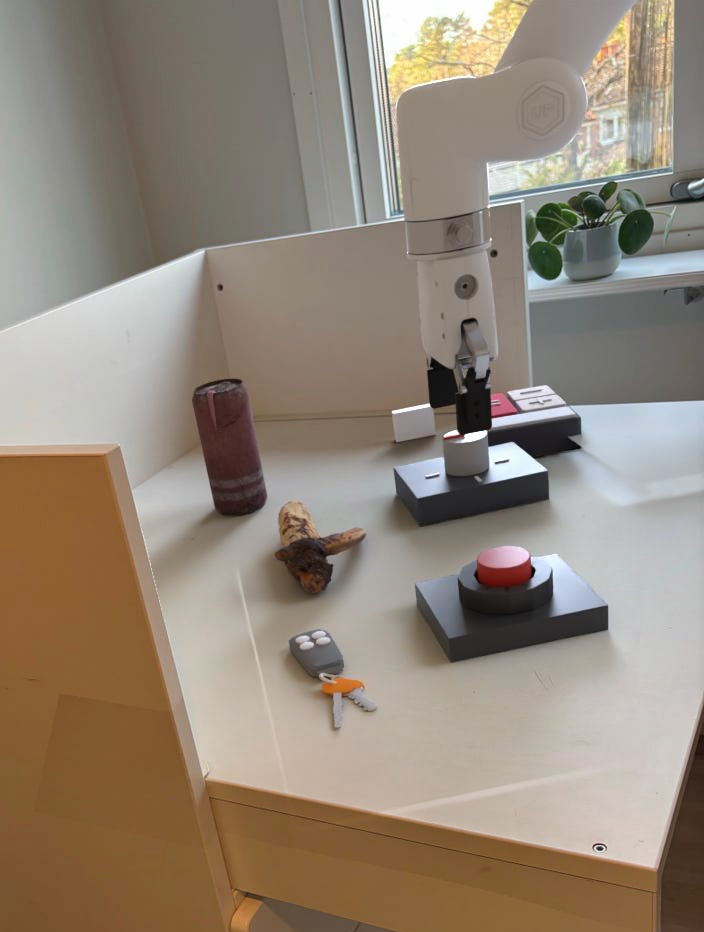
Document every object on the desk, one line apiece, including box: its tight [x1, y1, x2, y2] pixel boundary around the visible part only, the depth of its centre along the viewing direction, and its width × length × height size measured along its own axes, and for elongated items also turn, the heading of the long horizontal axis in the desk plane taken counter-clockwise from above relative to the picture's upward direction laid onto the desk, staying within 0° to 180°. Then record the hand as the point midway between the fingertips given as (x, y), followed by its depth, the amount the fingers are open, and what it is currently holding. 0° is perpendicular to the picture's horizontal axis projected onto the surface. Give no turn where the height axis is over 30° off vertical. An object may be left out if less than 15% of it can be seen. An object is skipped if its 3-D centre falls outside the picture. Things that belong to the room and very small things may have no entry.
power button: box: [476, 545, 532, 587], centre depth 74 cm, size 4×4×2 cm
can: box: [191, 377, 268, 517], centre depth 106 cm, size 6×6×14 cm
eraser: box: [391, 403, 437, 443], centre depth 118 cm, size 1×5×4 cm, turn 91°
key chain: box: [288, 628, 379, 730], centre depth 73 cm, size 13×4×2 cm, turn 13°
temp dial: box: [441, 429, 489, 476], centre depth 97 cm, size 4×4×4 cm
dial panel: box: [392, 442, 550, 527], centre depth 98 cm, size 13×10×3 cm
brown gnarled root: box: [274, 500, 367, 594], centre depth 92 cm, size 9×5×18 cm
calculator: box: [486, 385, 583, 458], centre depth 110 cm, size 11×4×15 cm
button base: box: [414, 552, 609, 664], centre depth 75 cm, size 12×10×4 cm
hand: (459, 418), depth 95 cm, fingers open, 9 cm apart
